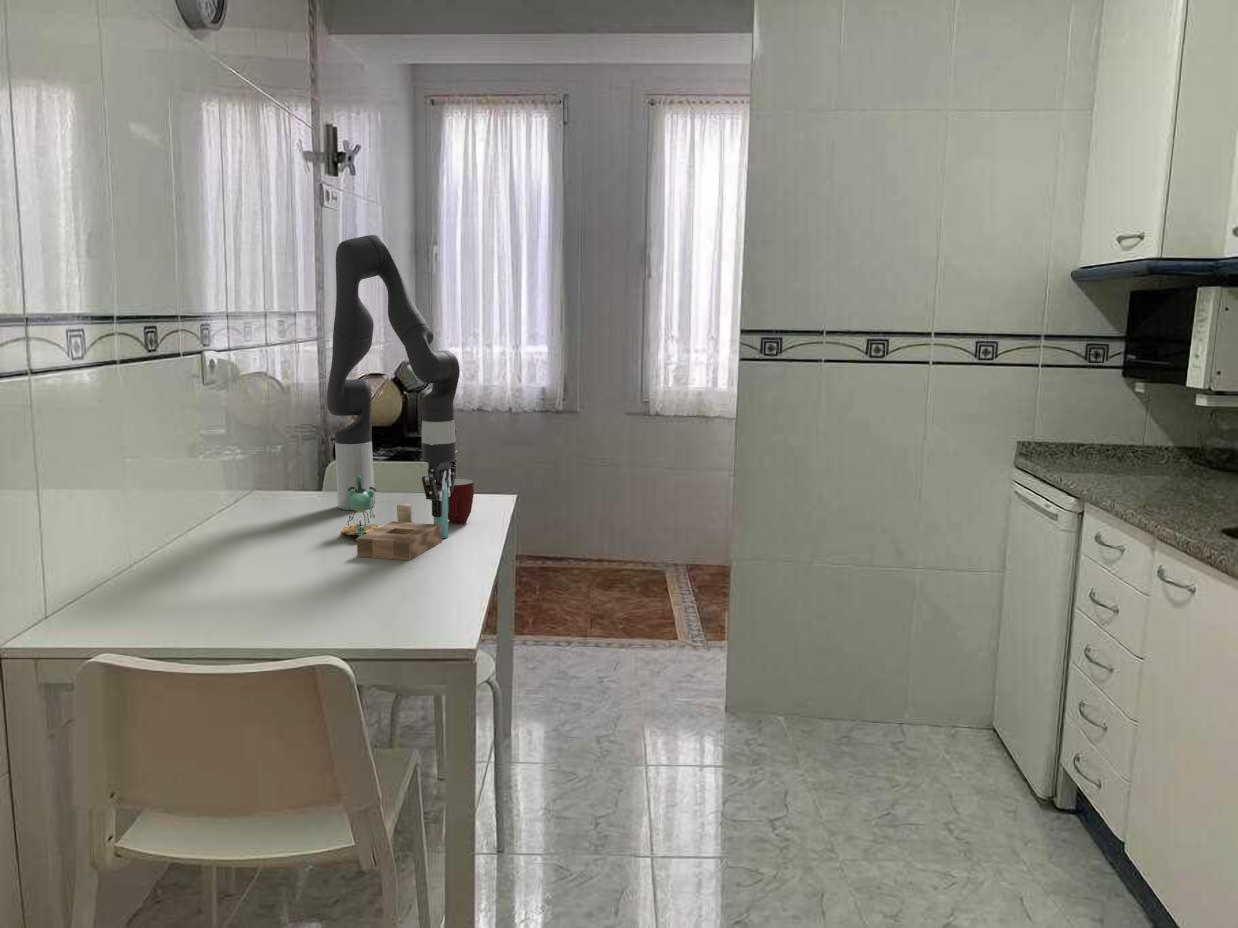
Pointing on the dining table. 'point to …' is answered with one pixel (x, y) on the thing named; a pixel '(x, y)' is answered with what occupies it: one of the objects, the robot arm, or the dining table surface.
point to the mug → (461, 501)
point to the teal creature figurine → (360, 510)
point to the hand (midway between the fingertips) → (440, 514)
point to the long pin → (443, 513)
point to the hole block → (399, 540)
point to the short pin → (404, 513)
